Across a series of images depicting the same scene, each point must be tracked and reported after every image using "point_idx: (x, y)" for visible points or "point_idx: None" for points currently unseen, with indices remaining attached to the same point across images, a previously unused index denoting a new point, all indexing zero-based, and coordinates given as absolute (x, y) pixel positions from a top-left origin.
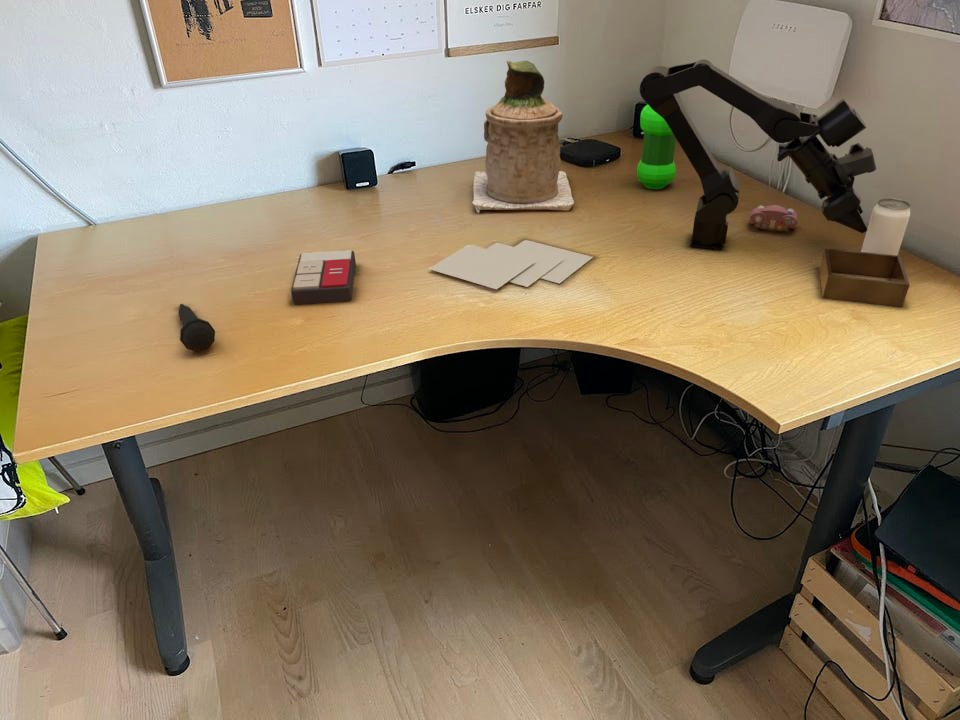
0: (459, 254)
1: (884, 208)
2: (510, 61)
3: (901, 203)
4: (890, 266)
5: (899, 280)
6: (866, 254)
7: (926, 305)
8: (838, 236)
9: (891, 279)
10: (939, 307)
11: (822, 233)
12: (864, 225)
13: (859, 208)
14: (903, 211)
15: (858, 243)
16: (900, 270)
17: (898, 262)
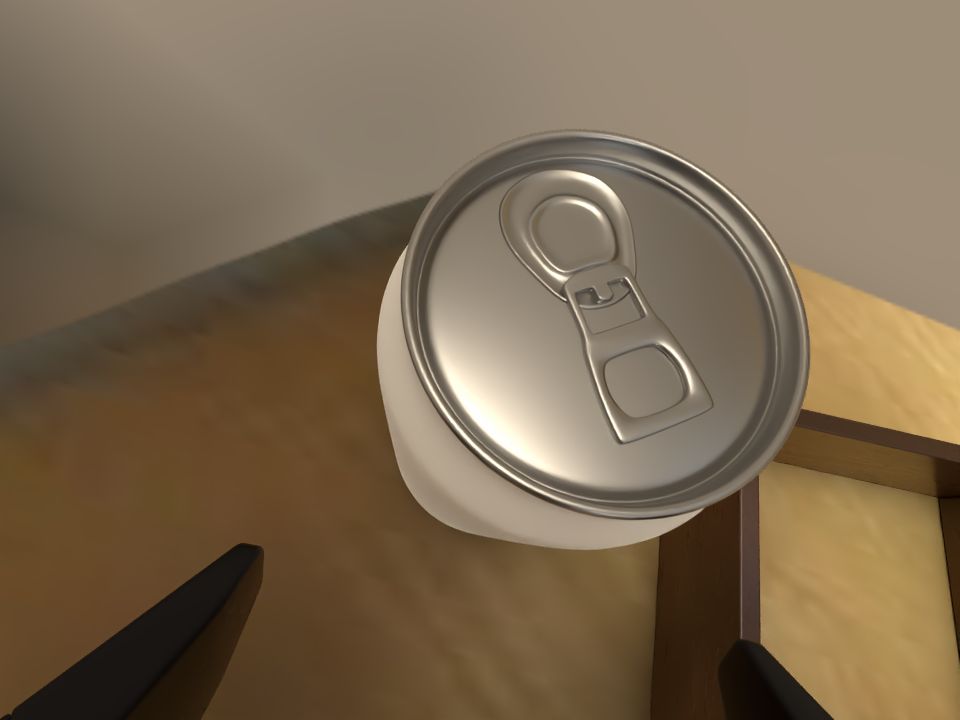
0: None
1: (737, 465)
2: None
3: (548, 201)
4: None
5: (910, 468)
6: (758, 606)
7: (894, 380)
8: (115, 572)
9: None
10: (893, 339)
11: (37, 684)
12: (820, 715)
13: (235, 603)
14: (752, 265)
15: (245, 471)
16: (904, 454)
17: (819, 433)
